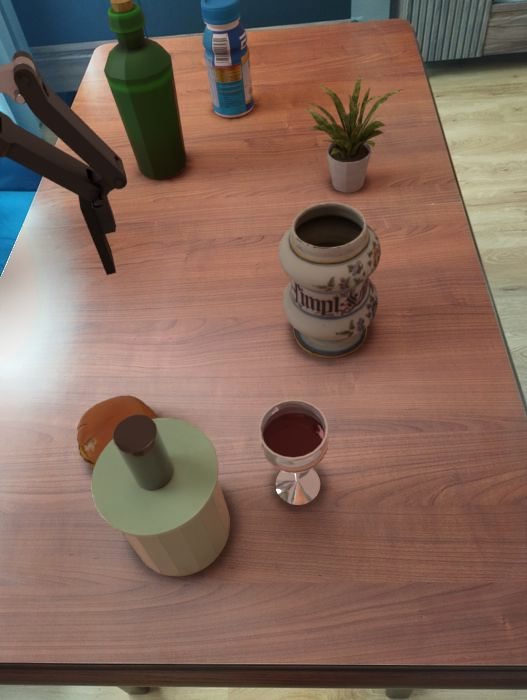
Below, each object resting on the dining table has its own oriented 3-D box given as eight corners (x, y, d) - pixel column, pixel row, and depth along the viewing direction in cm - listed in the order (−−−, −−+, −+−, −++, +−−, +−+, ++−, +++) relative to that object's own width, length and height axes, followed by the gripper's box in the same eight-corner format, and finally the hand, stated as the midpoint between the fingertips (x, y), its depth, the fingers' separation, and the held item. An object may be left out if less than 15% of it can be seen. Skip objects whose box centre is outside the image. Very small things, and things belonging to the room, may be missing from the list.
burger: (178, 424, 71) (170, 403, 68) (138, 491, 66) (127, 472, 62) (111, 400, 74) (100, 379, 71) (68, 462, 69) (53, 442, 66)
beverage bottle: (204, 109, 117) (185, 1, 101) (236, 92, 120) (222, -15, 104) (231, 124, 113) (216, 13, 97) (263, 106, 116) (253, -4, 100)
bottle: (200, 151, 108) (168, -17, 86) (182, 187, 101) (142, 15, 79) (146, 148, 110) (101, -17, 88) (126, 183, 104) (72, 14, 82)
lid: (69, 505, 53) (33, 463, 46) (143, 407, 59) (120, 358, 52) (174, 563, 49) (151, 526, 42) (242, 451, 55) (231, 404, 48)
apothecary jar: (308, 287, 84) (304, 181, 70) (388, 312, 80) (401, 204, 66) (269, 347, 77) (256, 244, 63) (354, 377, 73) (360, 274, 59)
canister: (115, 548, 62) (76, 499, 52) (169, 468, 68) (142, 410, 58) (197, 594, 58) (171, 551, 49) (247, 506, 64) (233, 451, 54)
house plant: (375, 147, 104) (381, 54, 91) (410, 191, 95) (423, 95, 82) (299, 167, 102) (295, 75, 89) (329, 214, 93) (329, 119, 81)
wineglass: (255, 478, 66) (244, 422, 56) (303, 446, 68) (299, 387, 59) (291, 525, 62) (285, 473, 53) (341, 489, 64) (343, 433, 55)
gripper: (-450, 78, 26) (-146, 364, 42) (111, -32, 29) (187, 276, 45) (-385, 10, 30) (-134, 293, 47) (94, -78, 33) (169, 217, 50)
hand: (24, 285), depth 46 cm, fingers open, 13 cm apart
